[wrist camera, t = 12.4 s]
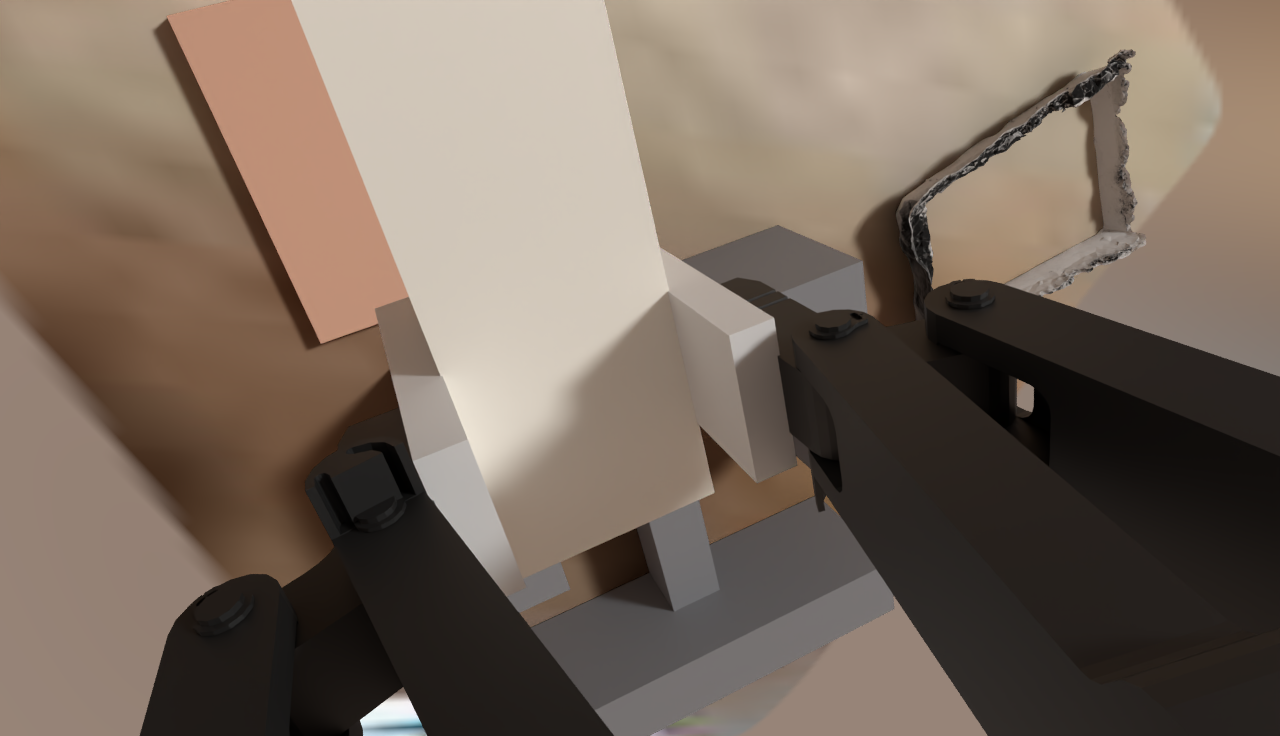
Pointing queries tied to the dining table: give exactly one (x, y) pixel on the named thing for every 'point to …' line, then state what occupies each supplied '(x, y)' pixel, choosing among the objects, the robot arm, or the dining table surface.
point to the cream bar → (523, 252)
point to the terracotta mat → (293, 158)
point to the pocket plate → (721, 560)
